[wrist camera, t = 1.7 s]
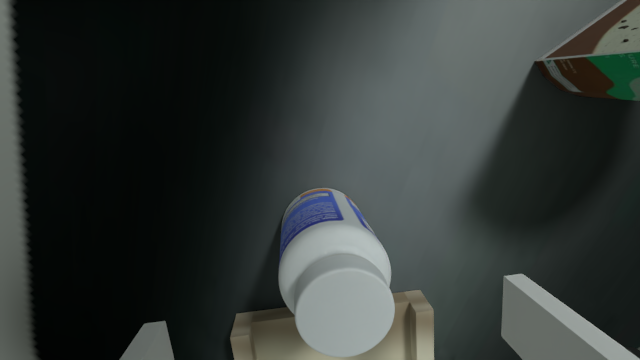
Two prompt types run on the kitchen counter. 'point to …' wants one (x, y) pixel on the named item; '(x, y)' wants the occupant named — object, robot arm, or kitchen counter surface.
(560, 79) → the food container
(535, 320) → the robot arm
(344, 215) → the pill bottle
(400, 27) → the kitchen counter surface
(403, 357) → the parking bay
